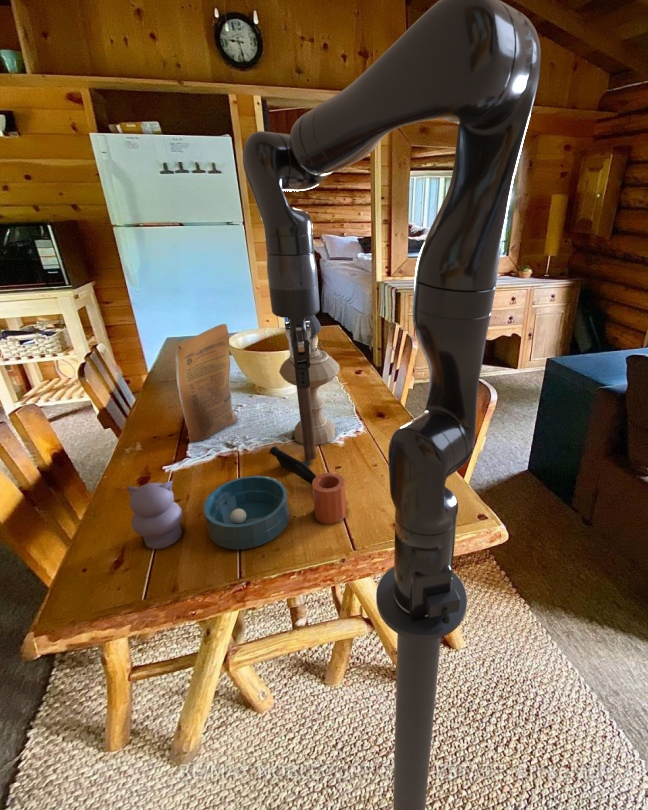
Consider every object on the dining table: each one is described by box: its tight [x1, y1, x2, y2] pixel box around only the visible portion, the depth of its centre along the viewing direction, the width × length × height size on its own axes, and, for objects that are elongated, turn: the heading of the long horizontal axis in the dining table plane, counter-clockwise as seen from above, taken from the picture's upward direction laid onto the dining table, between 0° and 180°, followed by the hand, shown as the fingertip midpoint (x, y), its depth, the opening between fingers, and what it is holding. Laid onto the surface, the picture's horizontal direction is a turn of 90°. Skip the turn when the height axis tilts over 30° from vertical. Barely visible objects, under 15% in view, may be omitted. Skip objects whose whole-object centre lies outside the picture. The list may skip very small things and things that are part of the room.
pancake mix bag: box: [174, 323, 237, 443], centre depth 115 cm, size 7×19×28 cm, turn 155°
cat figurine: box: [126, 480, 183, 550], centre depth 82 cm, size 8×8×12 cm
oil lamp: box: [278, 314, 341, 446], centre depth 110 cm, size 15×15×40 cm
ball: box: [230, 509, 246, 524], centre depth 87 cm, size 3×3×3 cm
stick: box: [295, 360, 317, 461], centre depth 78 cm, size 2×2×20 cm
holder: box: [311, 472, 347, 525], centre depth 89 cm, size 6×6×8 cm
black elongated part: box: [269, 445, 318, 486], centre depth 102 cm, size 8×9×25 cm
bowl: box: [202, 475, 290, 550], centre depth 87 cm, size 15×15×6 cm
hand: (302, 384), depth 76 cm, fingers closed on stick, 2 cm apart
